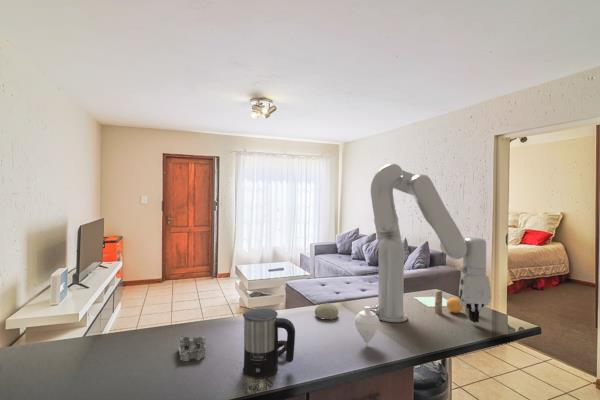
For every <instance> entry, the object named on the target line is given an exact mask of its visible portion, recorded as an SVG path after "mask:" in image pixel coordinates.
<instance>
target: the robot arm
mask: <svg viewBox="0 0 600 400" xmlns="http://www.w3.org/2000/svg"><path fill="white" fill-rule="evenodd" d="M394 190H397V191H400V192H403V193H405V194H408V195H410V196H411V195H412V197H413V198H414V200H415V202H416V204H417V207H418V208H419V210H420V212H421V214H422V216H423V218H424V220H425V221H426V222H427V224H429V225H430V226H431V228H432V229H433V231H434V232H435V234H436V235H437V238H438V240H439V241H440V242H439V249H440V250H441V251H442V253H444V255H446V256H447V257H449V258H450V259H453V260H461V259H462V268H459V271H460V272H461V273H462V274H461V275H460V280H459V286H458V299H459V300H460V305H462V306H463V307H465V306H466V307H467V308H468V309H469V314H468V320H469V321H471V322H473V323H480V312H481V311H482V309H483V308H484V307H485V306H489V304H490V303H491V301H492V288H491V282H490V277H489V275H487V241H486V239H484V238H480V237H463V234H462V233H461V231H460V228H459V227H458V226H457V224H456V222H455V221H454V219H453V217H452V216H451V214H450V212H449V211H448V209H447V207H446V205H445V204H444V202H443V199H442V198H441V195H440V194H439V192H438V190H437V188H436V187H435V185H434V183H433V181H432V179H431V178H430V177H429V175H427V174H421V173H420V174H416V173H412V172H409V171H406V170H403V168H402V167H401V166H400V165H398V164H396V163H387V164H385V165H384V166H383V167H381V168H380V169H379V170H378V171H377V172H376V173H375V174H374V176H373V178H372V181H371V184H370V198H371V206H372V211H373V222H374V226H375V231H376V237H377V243H378V267H377V268H378V271H377V272H378V273H377V274H378V275H377V277H378V282H377V283H378V284H377V285H378V286H377V287H378V288H377V289H378V290H377V291H378V294H377V295H378V297H377V299H378V300H377V302H378V303H375V305H373V306H370V305H368V306H369V307H370V311H371V312H374V313H375V314H376V315H377V317H378V318H379V321H383V322H387V323H403V322H406V321H407V320H408V314H407V313H406V312H404V284H405V283H404V281H405V279H404V278H405V276H404V275H405V273H404V272H405V271H404V270H405V269H404V265H405V246H404V243H403V241H402V237H401V231H400V225H399V217H398V214H397V212H396V211H397V210H396V205H395V199H394V198H395V197H394Z"/></svg>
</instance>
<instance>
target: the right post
mask: <svg viewBox="0 0 600 400" xmlns="http://www.w3.org/2000/svg"><path fill="white" fill-rule="evenodd" d="M464 309H465V311H464V312H465V313H466V314H468V315H469V309H468V308H467V307H466V306H464Z"/></svg>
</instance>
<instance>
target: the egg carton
mask: <svg viewBox="0 0 600 400" xmlns="http://www.w3.org/2000/svg"><path fill="white" fill-rule="evenodd" d="M198 343H199V344H200V345H199V348H198V345H196V344H198ZM186 345H188V346H189V347H188V346H186ZM184 346H185V347H188V350H187V352H186V351H185V349H186V348H185V347H184ZM206 348H207V337H206V336H204V335H203V336H200V335H199V336H198V337H195V336H193V338H192V339H190V338H189V336H183V334H181V336H180V338H179V344H178V352H179V357H180V359H179V361H180V360H183V361H182V362H184V361H191V360H196V361H201V360H202V359H203V357H204V358H206ZM185 353H186V354H185ZM193 358H194V359H193ZM201 358H202V359H201ZM190 359H191V360H190ZM200 359H201V360H200Z"/></svg>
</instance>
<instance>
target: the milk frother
mask: <svg viewBox="0 0 600 400" xmlns="http://www.w3.org/2000/svg"><path fill="white" fill-rule="evenodd" d="M278 315H279V313H278V311H276V310H274V309H270V308H254V309H251V310H247V311H245V312H243V314H242V317H243V325H244V326H243V328H244V330H243V339H244V340H243V346H244V347H243V349H244V350H243V355H244V356H243V367H242V373H243V374H244V375H245V376H246V377H249V378H251V379H263V378H269V377H271V376H273V375H275V374H276V372H277V371H278V367H279V366H278V362H279V359H278V358H280V356H282V355H283V354H284V353H285V361H286V362H287V363H292V362H293V360H294V357H295V356H294V355H295V344H296V343H295V341H296V329H295V326H294V324H293V322H292V321H291V320H289V319H288V318H285V317H277V316H278ZM279 329H284V330H285V331H286V334H287V335H286V340H285V339H283V340H282V339H281V340H279ZM280 348H281V349H280Z"/></svg>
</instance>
